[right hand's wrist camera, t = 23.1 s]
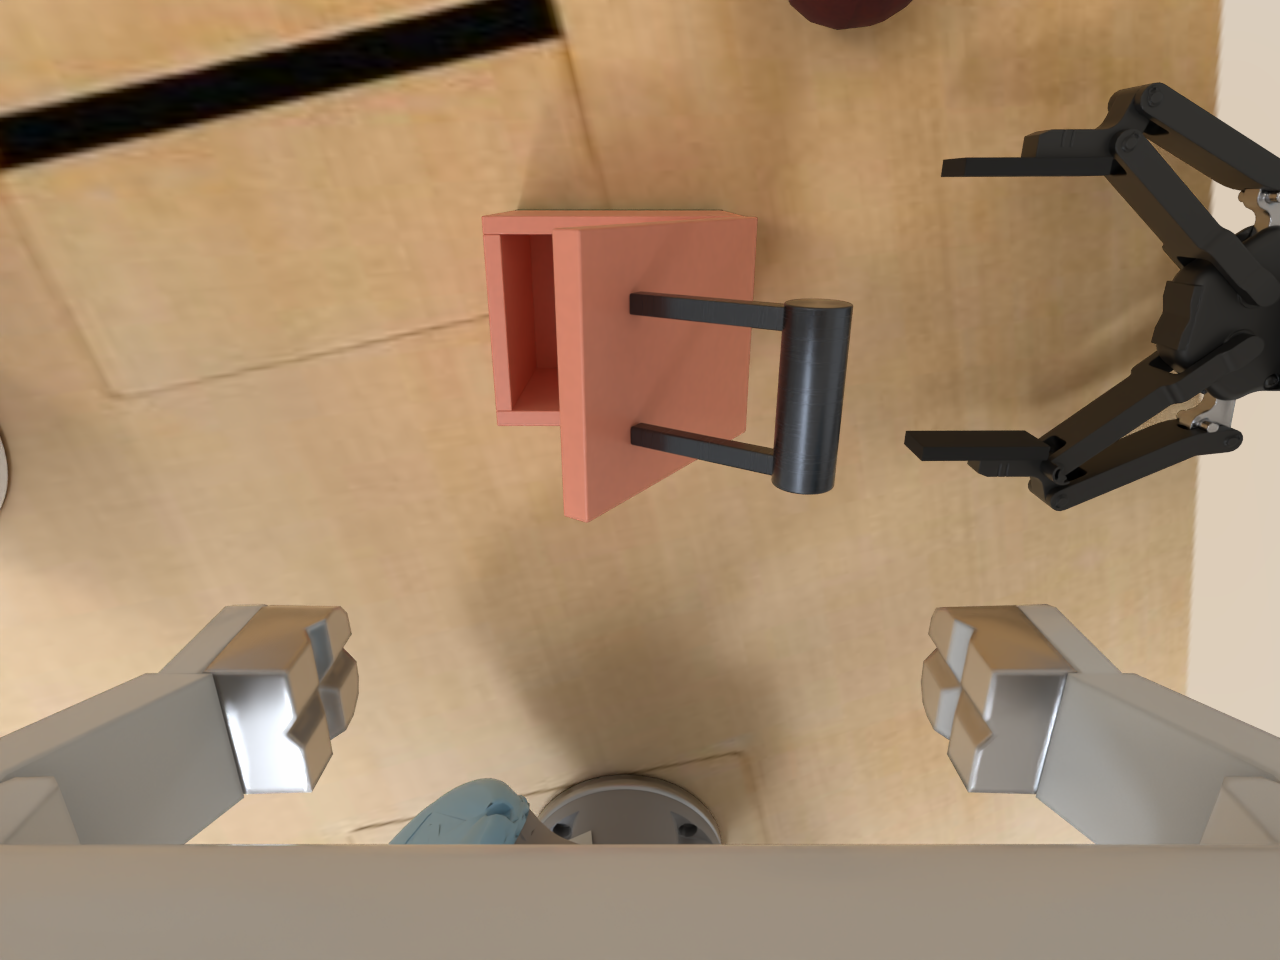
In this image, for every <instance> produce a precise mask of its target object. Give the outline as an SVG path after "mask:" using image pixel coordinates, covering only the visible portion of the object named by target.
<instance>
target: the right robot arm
mask: <svg viewBox="0 0 1280 960" xmlns="http://www.w3.org/2000/svg"><path fill="white" fill-rule="evenodd" d="M7 483H8V467H7V460H6V455H5V450H4V447H3V444H2V441H1V438H0V509H1V506H2V504H3V502H4V499H5V495H6V491H7ZM351 634H352V633H351V629H350V624H349V619H348V614H347V612H346V611H345V610H344V609H343V608H342V607H341V606H298V605H269V606H268V605H265V604H260V605H232V606H227V607H224V608H223V609H222V610H221V611H220V612H219V613H218V614H217V615H216V616H215V617H214V618H213V619H212V620H211V621H210V622H209V623H208V624H207V625H206V626H205V627H204V628H203V629H202V630H201V631H200V632H199V633H198V634H197V635H196V636H195V637H194V638H193V639H192V640H191V641H190V642H189V643H188V644H187V645H186V646H185V647H184V648H183V649H182V650H181V651H180V652H179V653H178V654H177V655H176V656H175V657H174V658H173V659H172V660H171V661H170V662H169V663H168V664H167V665H166V666H165V667H164V668H163V669H162V670H161V671H160V672H159V673H145V674H143V675H141V676H139V677H136V678H134V679H132V680H130V681H127V682H125V683H123V684H121V685H118V686H116V687H114V688H112V689H109V690H107V691H105V692H103V693H100V694H98V695H96V696H93V697H91V698H89V699H87V700H84V701H82V702H80V703H78V704H75V705H73V706H71V707H69V708H66V709H64V710H62V711H60V712H57V713H55V714H53V715H51V716H48V717H46V718H44V719H42V720H39V721H37V722H35V723H32V724H30V725H28V726H26V727H23V728H21V729H19V730H17V731H14V732H12V733H10V734H8V735H5V736H3V737H1V738H0V960H1280V738H1279V737H1276V736H1274V735H1272V734H1270V733H1267V732H1265V731H1263V730H1261V729H1258V728H1256V727H1254V726H1252V725H1249V724H1247V723H1245V722H1243V721H1240V720H1238V719H1236V718H1234V717H1231V716H1229V715H1227V714H1225V713H1222V712H1220V711H1218V710H1216V709H1213V708H1211V707H1209V706H1207V705H1204V704H1202V703H1200V702H1198V701H1195V700H1193V699H1191V698H1189V697H1186V696H1184V695H1182V694H1180V693H1177V692H1175V691H1173V690H1171V689H1168V688H1166V687H1164V686H1162V685H1159V684H1157V683H1155V682H1153V681H1150V680H1148V679H1146V678H1144V677H1141V676H1139V675H1137V674H1135V673H1121V672H1120V671H1119V670H1118V669H1117V668H1116V667H1115V666H1114V665H1113V664H1112V663H1111V662H1110V661H1109V660H1108V659H1107V658H1106V657H1105V656H1104V655H1103V654H1102V653H1101V652H1100V651H1099V650H1098V649H1097V648H1096V647H1095V646H1094V645H1093V644H1092V643H1091V642H1090V641H1089V640H1088V639H1087V638H1086V637H1085V636H1084V635H1083V634H1082V633H1081V632H1080V631H1079V630H1078V629H1077V628H1076V627H1075V626H1074V625H1073V624H1072V623H1071V622H1070V621H1069V620H1068V619H1067V618H1066V617H1065V616H1064V615H1063V614H1062V613H1061V612H1060V611H1059V610H1058V609H1057V608H1055V607H1053V606H1050V605H1047V604H1037V605H1012V606H972V607H940V608H936V609H935V612H934V614H933V616H932V618H931V622H930V628H929V633H928V634H929V636H930V637H931V639H932V641H933V642H934V644H935V645H936V647H937V648H936V649H935V650H934V651H933V652H932V653H931V654H930V655H929V656H928V657H927V658H926V660H925V661H924V662H923V670H922V678H921V689H922V700H923V705H924V708H925V711H926V715H927V717H928V719H929V721H930V723H931V725H932V727H933V729H934V730H935V731H936V732H938V733H939V734H941V735H942V736H944V737H945V738H947V739H949V740H950V741H949V746H948V752H947V755H948V757H949V758H950V760H951V762H952V764H953V766H954V767H955V769H956V771H957V773H958V775H959V776H960V778H961V780H962V782H963V784H964V785H965V787H966V789H967V791H968V792H981V793H1018V794H1036V798H1038V799H1039V800H1040V801H1042V802H1043V803H1044V804H1045V805H1047V806H1048V807H1049V808H1050V809H1052V810H1053V811H1054V812H1056V813H1057V814H1058V815H1059V816H1061V817H1062V818H1063V819H1064V820H1066V821H1067V822H1068V823H1070V824H1071V825H1072V826H1073V827H1075V828H1076V829H1077V830H1078V831H1080V832H1081V833H1082V834H1084V835H1085V836H1086V837H1087V838H1089V839H1090V840H1091V841H1092V842H1094V843H1095V844H185V843H186V842H188V841H189V840H190V839H192V838H193V837H194V836H195V835H197V834H198V833H199V832H200V831H202V830H203V829H204V828H206V827H207V826H208V825H209V824H211V823H212V822H213V821H215V820H216V819H217V818H218V817H220V816H221V815H222V814H223V813H225V812H226V811H227V810H229V809H230V808H231V807H232V806H234V805H235V804H236V803H238V802H239V801H240V800H241V799H243V798H244V794H262V793H297V792H312V791H313V789H314V787H315V785H316V784H317V782H318V780H319V778H320V776H321V775H322V773H323V771H324V769H325V767H326V766H327V764H328V762H329V760H330V758H331V757H332V755H333V752H332V746H331V741H330V740H331V739H333V738H335V737H336V736H338V735H339V734H341V733H342V732H344V731H345V730H346V729H347V727H348V725H349V723H350V721H351V719H352V717H353V715H354V712H355V707H356V703H357V699H358V694H359V675H358V669H357V662H356V661H355V660H354V659H353V657H352V656H351V655H350V654H349V653H348V652H347V651H346V650H345V649H344V648H343V647H344V645H345V644H346V642H347V641H348V639H349V637H350V636H351Z"/></svg>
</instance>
